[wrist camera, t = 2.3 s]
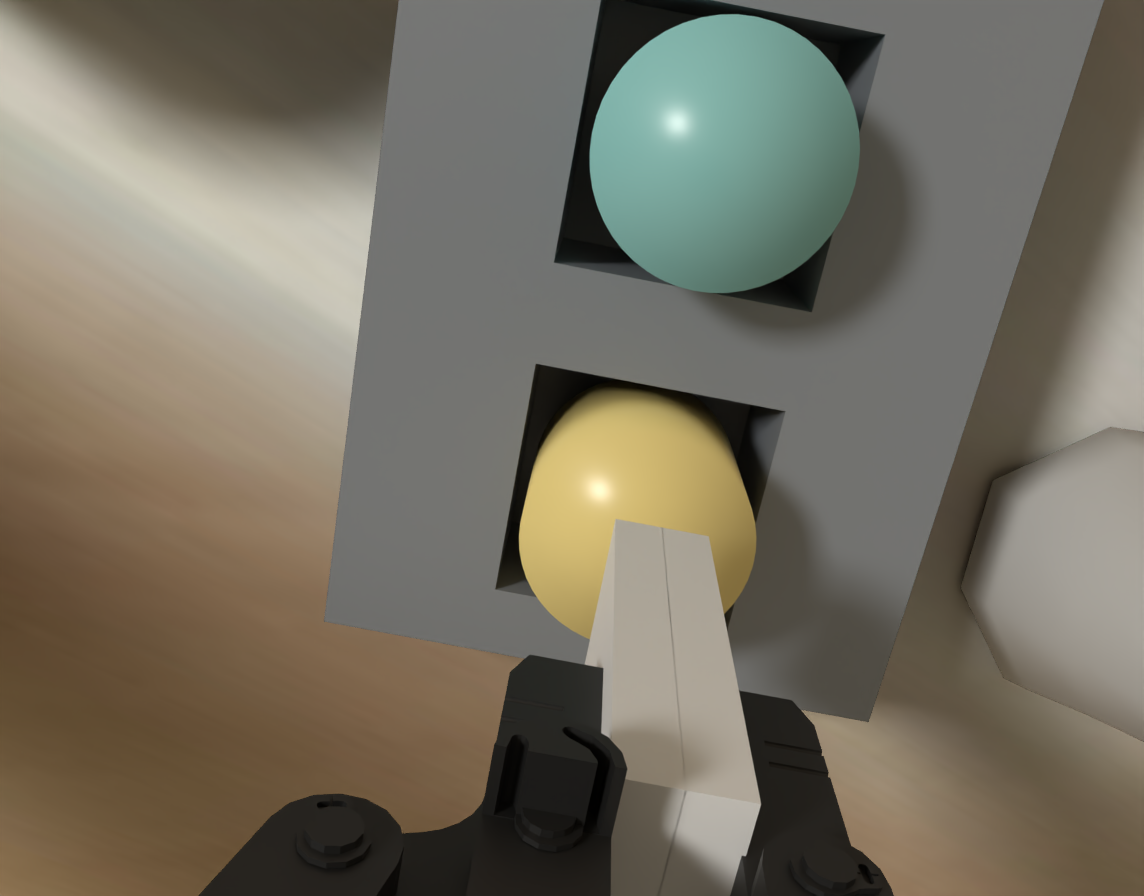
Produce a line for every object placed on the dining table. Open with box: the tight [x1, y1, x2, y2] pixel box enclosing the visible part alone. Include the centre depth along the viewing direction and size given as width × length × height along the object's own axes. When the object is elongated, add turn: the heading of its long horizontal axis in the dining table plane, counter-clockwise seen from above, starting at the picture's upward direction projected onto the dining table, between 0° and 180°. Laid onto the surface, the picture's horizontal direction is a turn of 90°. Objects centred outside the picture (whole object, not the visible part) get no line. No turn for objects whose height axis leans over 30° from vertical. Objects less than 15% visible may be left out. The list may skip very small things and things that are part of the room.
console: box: [324, 0, 1104, 722], centre depth 21 cm, size 12×22×4 cm, turn 169°
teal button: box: [590, 14, 860, 293], centre depth 19 cm, size 4×4×4 cm
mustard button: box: [519, 379, 756, 639], centre depth 21 cm, size 4×4×4 cm
